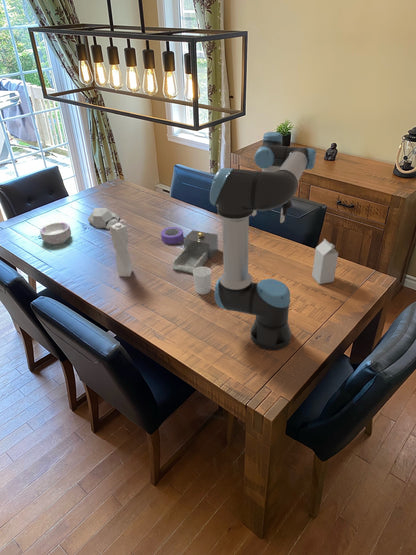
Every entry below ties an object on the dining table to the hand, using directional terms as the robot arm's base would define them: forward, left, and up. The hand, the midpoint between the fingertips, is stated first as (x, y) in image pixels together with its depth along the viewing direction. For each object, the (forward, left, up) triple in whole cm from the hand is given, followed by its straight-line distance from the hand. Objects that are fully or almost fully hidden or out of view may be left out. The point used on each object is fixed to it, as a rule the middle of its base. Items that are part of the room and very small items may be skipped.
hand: (268, 218), depth 184 cm
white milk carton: (0, -27, -26) cm, 37 cm away
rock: (+11, +99, -26) cm, 103 cm away
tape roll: (+9, +54, -26) cm, 61 cm away
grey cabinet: (-11, +34, -26) cm, 44 cm away
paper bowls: (-14, +112, -26) cm, 116 cm away
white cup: (-28, +20, -26) cm, 43 cm away
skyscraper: (-28, +60, -26) cm, 71 cm away
